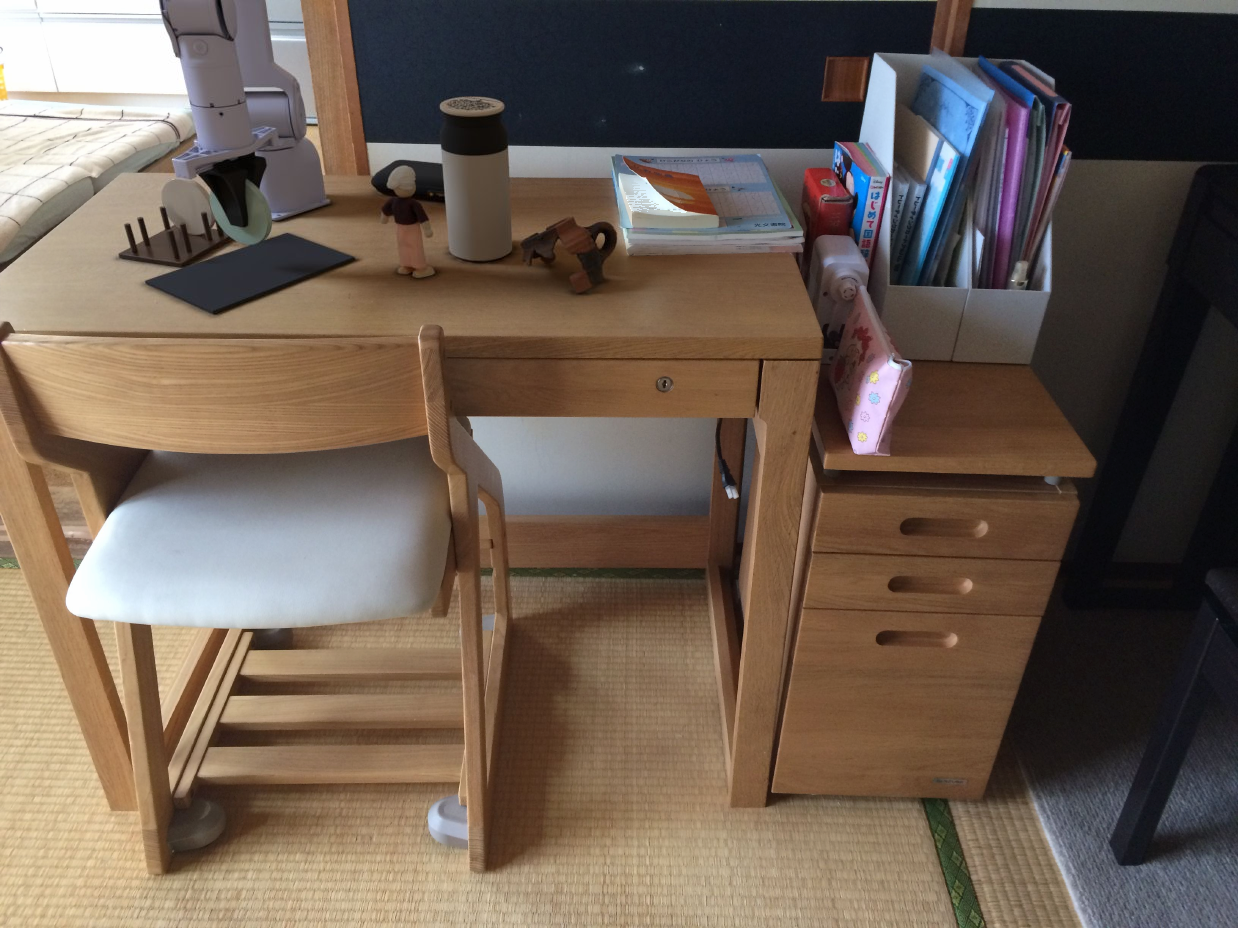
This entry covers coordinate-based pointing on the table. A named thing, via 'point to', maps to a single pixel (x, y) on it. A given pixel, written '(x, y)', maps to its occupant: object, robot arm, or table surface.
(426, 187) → the carrying case
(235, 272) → the charcoal mat
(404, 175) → the grandmother figurine
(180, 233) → the plate rack
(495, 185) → the travel mug
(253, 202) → the pale green plate
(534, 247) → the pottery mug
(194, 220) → the cream saucer
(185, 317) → the table surface
